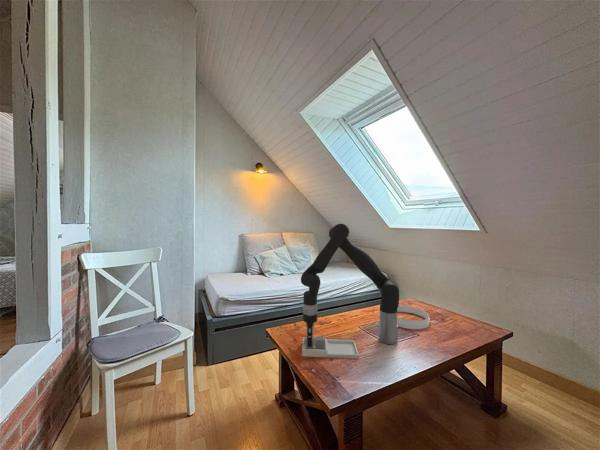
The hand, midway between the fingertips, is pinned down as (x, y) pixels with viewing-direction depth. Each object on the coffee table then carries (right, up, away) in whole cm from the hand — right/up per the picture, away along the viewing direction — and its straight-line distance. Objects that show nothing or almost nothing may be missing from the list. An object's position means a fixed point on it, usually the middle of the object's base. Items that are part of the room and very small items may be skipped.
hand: (309, 342), depth 130 cm
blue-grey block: (+5, -4, 0) cm, 6 cm away
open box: (+2, -4, 0) cm, 5 cm away
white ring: (+67, -3, +38) cm, 77 cm away
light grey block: (0, -4, 0) cm, 4 cm away
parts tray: (+17, -5, 0) cm, 17 cm away
